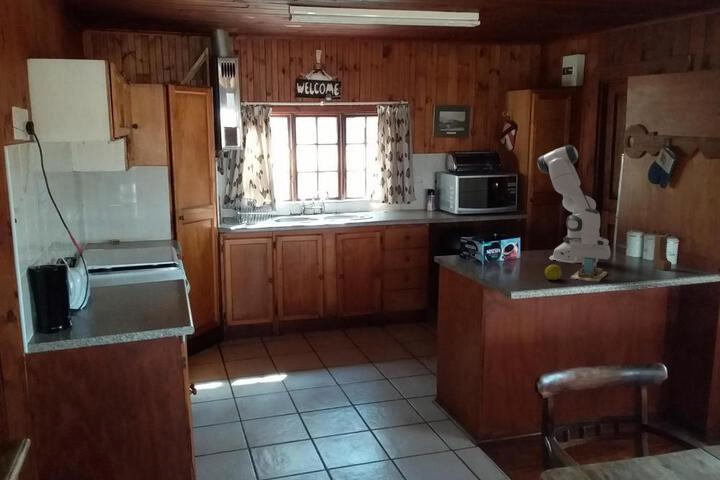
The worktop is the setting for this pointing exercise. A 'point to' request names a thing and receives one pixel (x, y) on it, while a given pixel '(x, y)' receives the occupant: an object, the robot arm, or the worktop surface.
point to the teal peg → (588, 265)
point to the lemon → (553, 272)
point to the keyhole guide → (589, 275)
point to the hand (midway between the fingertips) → (589, 265)
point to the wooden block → (661, 253)
